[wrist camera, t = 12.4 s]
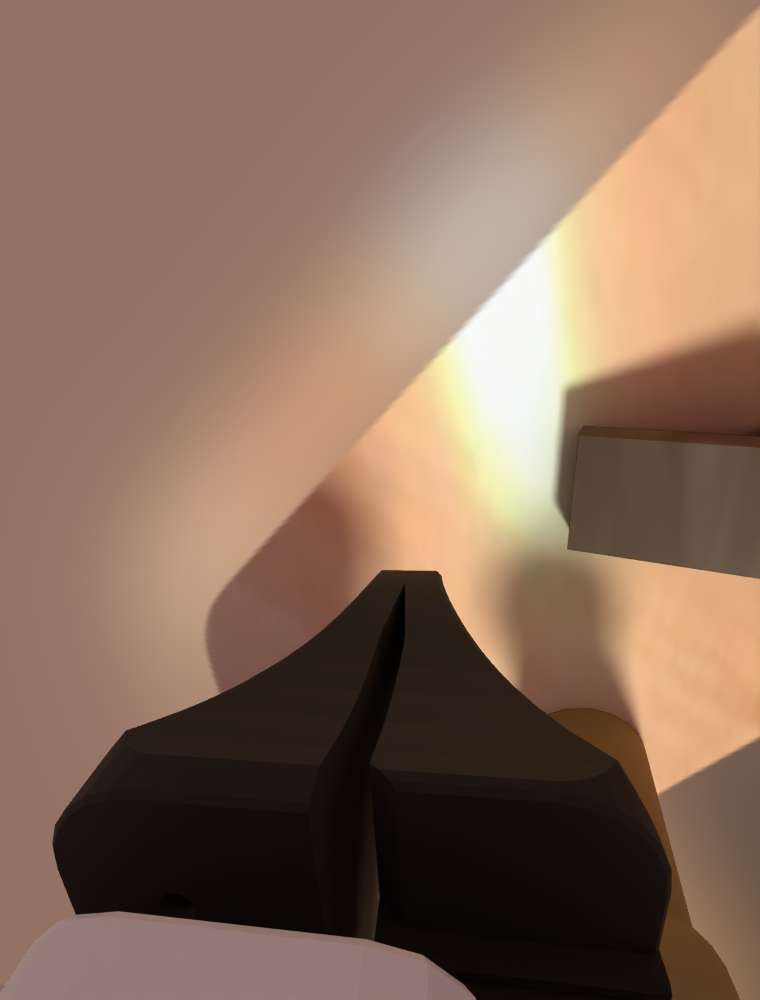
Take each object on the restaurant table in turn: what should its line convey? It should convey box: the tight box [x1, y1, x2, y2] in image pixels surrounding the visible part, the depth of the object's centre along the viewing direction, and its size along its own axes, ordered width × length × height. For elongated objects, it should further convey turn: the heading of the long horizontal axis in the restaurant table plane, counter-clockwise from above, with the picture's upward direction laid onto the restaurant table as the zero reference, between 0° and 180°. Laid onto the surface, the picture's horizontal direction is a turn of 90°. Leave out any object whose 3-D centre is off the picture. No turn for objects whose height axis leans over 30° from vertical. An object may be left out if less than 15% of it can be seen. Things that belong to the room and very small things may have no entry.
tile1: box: [567, 426, 760, 579], centre depth 18 cm, size 2×4×7 cm
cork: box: [548, 709, 740, 1000], centre depth 20 cm, size 6×6×11 cm
